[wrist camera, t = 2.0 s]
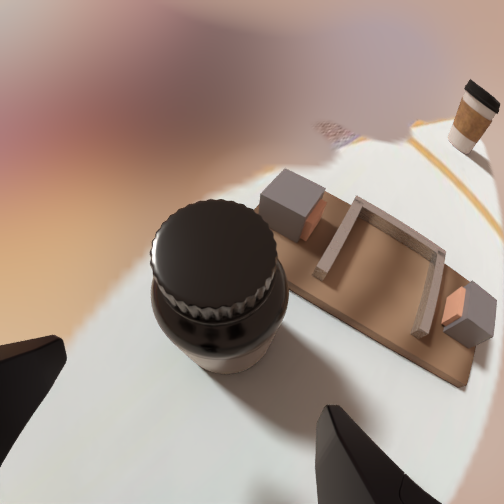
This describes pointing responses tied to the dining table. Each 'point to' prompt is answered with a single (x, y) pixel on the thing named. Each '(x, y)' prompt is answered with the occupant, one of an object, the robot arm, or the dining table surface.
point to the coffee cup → (472, 117)
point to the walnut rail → (377, 276)
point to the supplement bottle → (218, 284)
